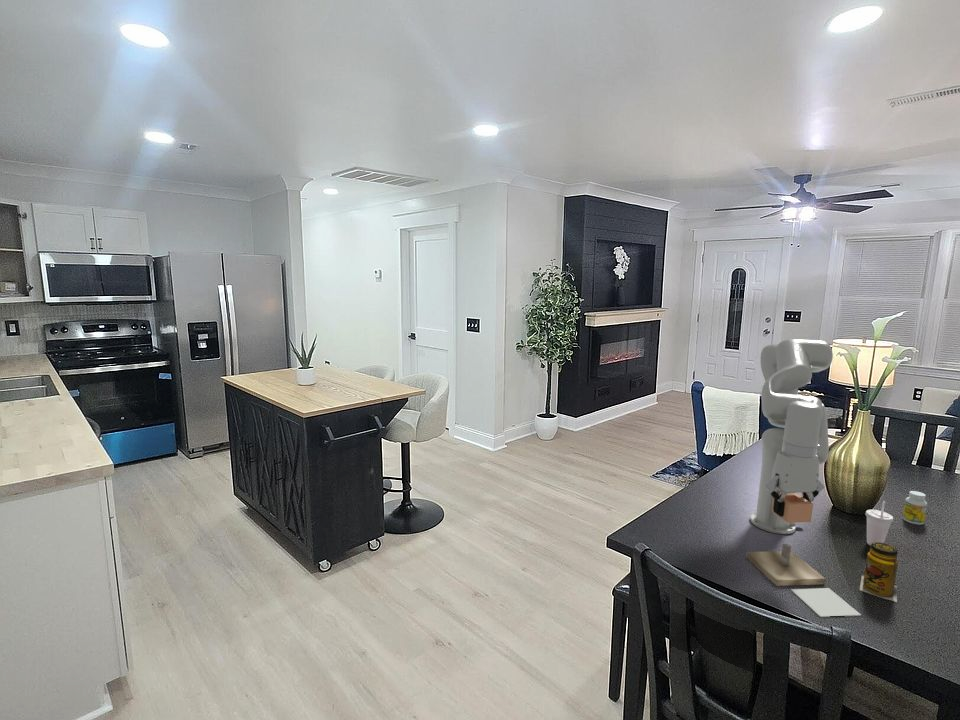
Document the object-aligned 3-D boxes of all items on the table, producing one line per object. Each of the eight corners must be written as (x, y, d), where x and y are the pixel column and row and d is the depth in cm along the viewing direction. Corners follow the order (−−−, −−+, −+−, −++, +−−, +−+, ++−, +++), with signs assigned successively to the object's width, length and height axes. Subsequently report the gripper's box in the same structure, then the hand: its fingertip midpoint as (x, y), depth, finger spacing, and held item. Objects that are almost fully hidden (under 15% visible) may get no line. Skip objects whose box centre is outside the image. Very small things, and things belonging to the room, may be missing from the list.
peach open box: (793, 510, 135) (796, 493, 134) (810, 522, 129) (813, 504, 128) (771, 510, 134) (773, 493, 134) (787, 522, 128) (789, 504, 127)
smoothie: (881, 552, 143) (889, 507, 141) (856, 541, 149) (863, 498, 146) (892, 547, 146) (900, 502, 144) (868, 536, 152) (874, 494, 149)
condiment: (859, 590, 126) (866, 547, 124) (861, 575, 132) (868, 534, 130) (896, 603, 121) (904, 558, 119) (897, 586, 128) (904, 544, 125)
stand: (790, 555, 141) (793, 532, 140) (824, 584, 128) (828, 558, 127) (746, 557, 140) (749, 533, 139) (776, 585, 127) (779, 560, 126)
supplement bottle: (927, 523, 160) (932, 495, 159) (917, 526, 159) (922, 498, 157) (909, 515, 165) (913, 488, 164) (898, 518, 164) (902, 491, 162)
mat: (828, 589, 126) (828, 588, 126) (861, 615, 116) (861, 614, 116) (791, 590, 126) (791, 589, 126) (820, 617, 116) (820, 616, 116)
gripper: (820, 443, 133) (811, 506, 136) (758, 444, 131) (751, 507, 135) (842, 454, 125) (832, 519, 128) (776, 455, 124) (768, 521, 127)
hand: (791, 513), depth 131 cm, fingers closed on peach open box, 6 cm apart
